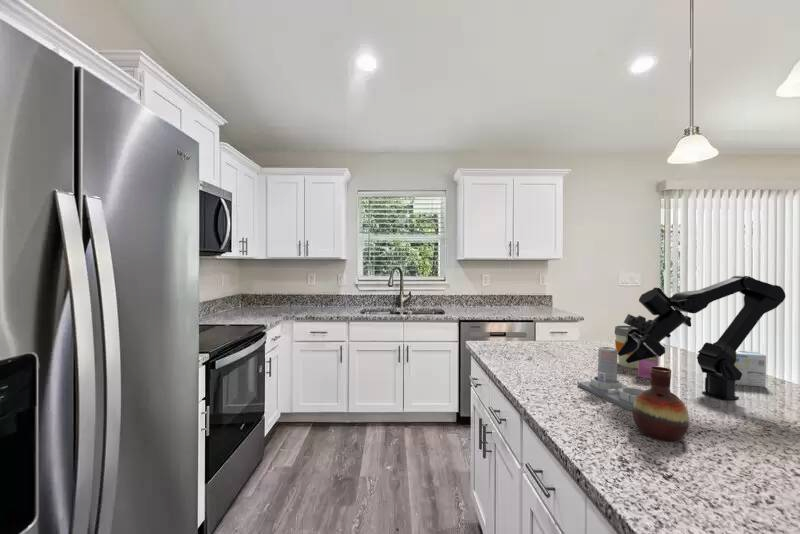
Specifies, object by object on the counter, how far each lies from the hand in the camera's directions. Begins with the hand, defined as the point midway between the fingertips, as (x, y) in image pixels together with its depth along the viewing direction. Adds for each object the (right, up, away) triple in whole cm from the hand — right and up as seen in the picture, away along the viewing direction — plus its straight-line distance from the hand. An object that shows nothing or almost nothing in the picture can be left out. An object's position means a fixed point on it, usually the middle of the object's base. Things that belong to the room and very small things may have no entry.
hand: (622, 358), depth 120 cm
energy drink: (-4, -9, +1) cm, 10 cm away
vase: (-9, -11, -30) cm, 33 cm away
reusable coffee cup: (+23, -11, +32) cm, 41 cm away
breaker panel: (-3, -10, -5) cm, 12 cm away
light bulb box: (+48, -11, +11) cm, 50 cm away
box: (+20, -11, +19) cm, 30 cm away
